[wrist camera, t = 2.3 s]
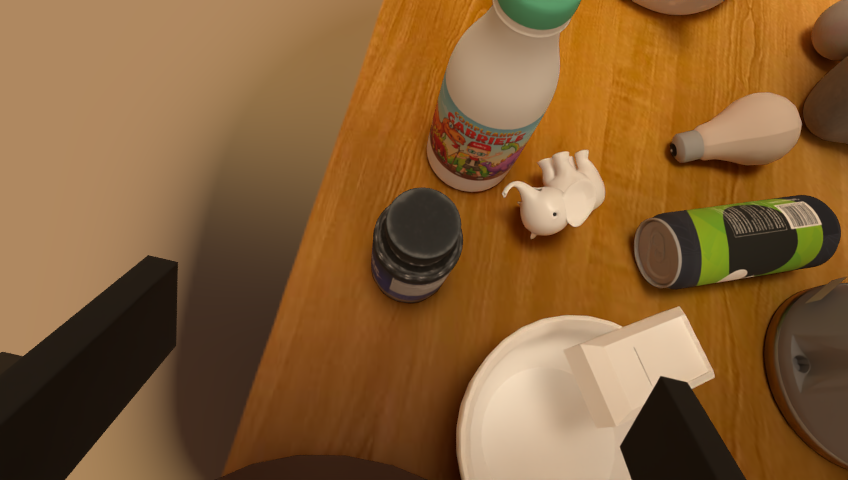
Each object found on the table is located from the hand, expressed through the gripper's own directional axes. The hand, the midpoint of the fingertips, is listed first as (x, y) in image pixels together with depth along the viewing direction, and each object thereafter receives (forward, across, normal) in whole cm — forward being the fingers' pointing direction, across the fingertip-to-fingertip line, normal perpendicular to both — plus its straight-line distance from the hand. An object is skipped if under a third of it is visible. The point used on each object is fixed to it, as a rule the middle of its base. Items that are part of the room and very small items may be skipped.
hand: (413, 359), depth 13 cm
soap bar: (+16, +16, -10) cm, 24 cm away
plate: (+5, +1, -29) cm, 29 cm away
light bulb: (+38, +26, +2) cm, 46 cm away
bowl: (+17, +13, -19) cm, 29 cm away
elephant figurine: (+30, +9, 0) cm, 31 cm away
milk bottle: (+33, +3, -3) cm, 33 cm away
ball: (+50, +40, +16) cm, 66 cm away
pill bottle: (+25, 0, -11) cm, 27 cm away
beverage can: (+30, +33, -1) cm, 45 cm away
